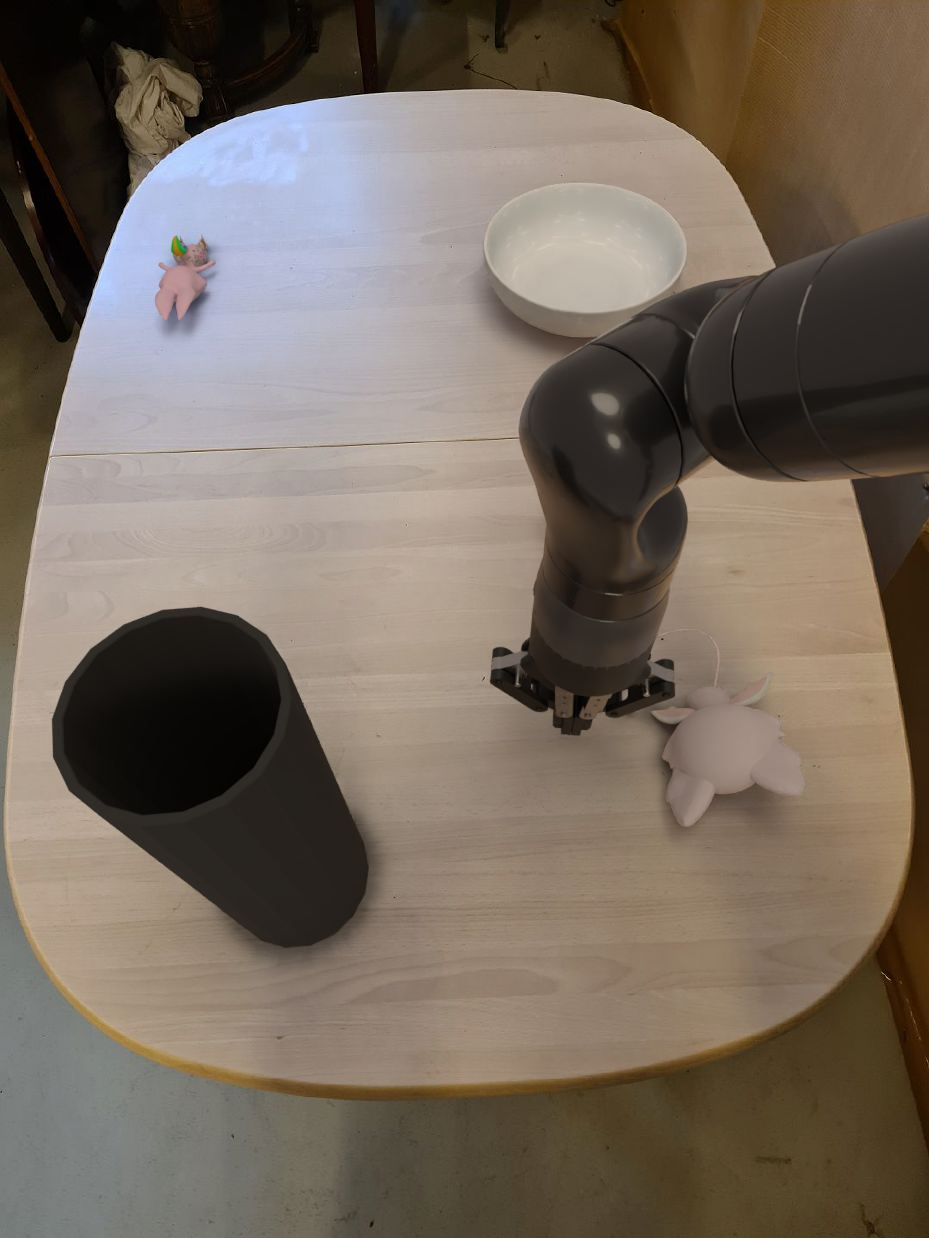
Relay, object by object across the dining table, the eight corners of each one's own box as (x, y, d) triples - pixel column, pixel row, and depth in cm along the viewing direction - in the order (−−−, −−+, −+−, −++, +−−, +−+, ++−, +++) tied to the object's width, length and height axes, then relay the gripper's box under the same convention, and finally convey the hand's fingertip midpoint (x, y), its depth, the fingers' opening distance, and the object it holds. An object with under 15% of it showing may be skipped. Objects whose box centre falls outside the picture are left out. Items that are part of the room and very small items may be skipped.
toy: (632, 715, 74) (687, 861, 62) (599, 659, 69) (653, 806, 58) (761, 659, 71) (844, 800, 60) (736, 597, 67) (821, 737, 55)
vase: (225, 953, 60) (31, 835, 34) (232, 812, 65) (68, 616, 39) (371, 940, 60) (290, 812, 34) (367, 801, 65) (293, 598, 39)
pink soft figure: (171, 262, 99) (147, 335, 90) (155, 211, 94) (128, 282, 85) (225, 260, 99) (207, 333, 90) (212, 208, 95) (191, 279, 85)
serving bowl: (713, 292, 93) (729, 237, 87) (591, 397, 86) (599, 344, 80) (566, 211, 100) (572, 155, 94) (442, 301, 93) (440, 246, 87)
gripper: (479, 656, 49) (480, 763, 64) (714, 673, 48) (659, 777, 63) (489, 548, 52) (487, 673, 67) (707, 562, 52) (657, 685, 67)
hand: (570, 723), depth 65 cm, fingers closed
